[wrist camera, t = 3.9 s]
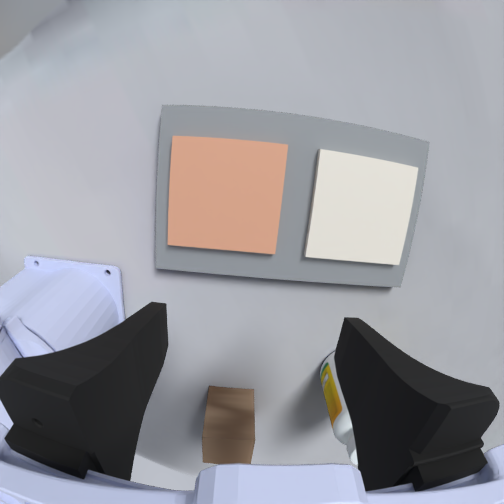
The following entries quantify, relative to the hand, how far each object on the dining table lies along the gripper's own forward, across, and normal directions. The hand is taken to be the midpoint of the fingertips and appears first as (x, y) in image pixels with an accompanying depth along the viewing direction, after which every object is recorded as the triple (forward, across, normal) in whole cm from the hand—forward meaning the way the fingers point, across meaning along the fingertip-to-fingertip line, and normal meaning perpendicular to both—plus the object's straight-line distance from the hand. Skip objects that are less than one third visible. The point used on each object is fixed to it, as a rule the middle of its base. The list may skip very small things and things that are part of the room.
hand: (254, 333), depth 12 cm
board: (+10, -2, -4) cm, 11 cm away
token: (+10, +1, +15) cm, 18 cm away
